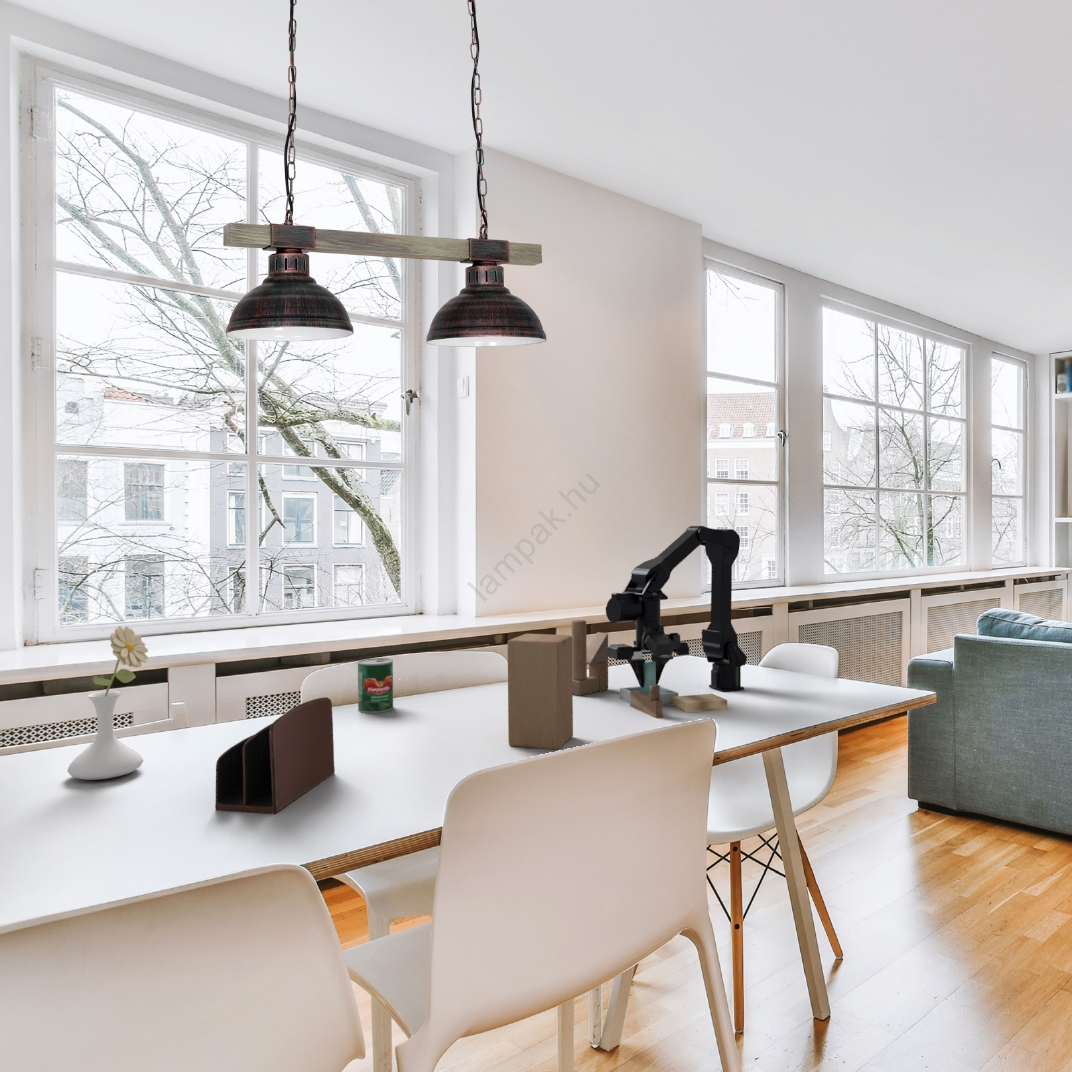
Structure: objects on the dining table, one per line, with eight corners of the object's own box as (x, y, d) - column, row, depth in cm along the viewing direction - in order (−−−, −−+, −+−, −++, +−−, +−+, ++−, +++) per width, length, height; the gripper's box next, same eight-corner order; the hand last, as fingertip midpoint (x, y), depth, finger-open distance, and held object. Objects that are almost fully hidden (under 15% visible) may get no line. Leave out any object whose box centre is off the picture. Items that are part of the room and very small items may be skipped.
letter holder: (335, 774, 139) (334, 691, 139) (276, 815, 119) (274, 719, 119) (281, 771, 141) (279, 689, 141) (214, 811, 121) (212, 716, 121)
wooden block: (573, 736, 161) (572, 634, 160) (558, 750, 151) (557, 642, 151) (525, 733, 164) (524, 633, 163) (507, 746, 154) (506, 640, 154)
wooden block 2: (608, 689, 205) (608, 617, 205) (579, 696, 197) (579, 621, 197) (597, 687, 208) (597, 616, 207) (568, 694, 200) (568, 620, 200)
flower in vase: (91, 790, 131) (88, 634, 131) (53, 779, 137) (50, 629, 137) (166, 768, 142) (163, 625, 142) (127, 759, 148) (125, 621, 148)
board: (712, 704, 189) (712, 693, 189) (727, 711, 183) (727, 699, 183) (672, 707, 187) (672, 696, 187) (686, 714, 180) (686, 703, 180)
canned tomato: (374, 714, 181) (373, 665, 180) (350, 710, 185) (350, 661, 185) (400, 708, 187) (400, 660, 187) (377, 703, 192) (376, 656, 192)
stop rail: (637, 705, 187) (637, 677, 187) (663, 717, 176) (663, 686, 176) (629, 706, 186) (628, 677, 186) (654, 718, 175) (654, 687, 175)
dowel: (651, 689, 193) (651, 660, 193) (658, 692, 190) (658, 662, 190) (639, 691, 192) (639, 661, 192) (646, 693, 189) (645, 663, 189)
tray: (657, 695, 198) (657, 684, 198) (678, 703, 188) (678, 692, 188) (619, 698, 194) (619, 688, 194) (639, 707, 185) (639, 696, 185)
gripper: (627, 626, 180) (628, 696, 180) (701, 621, 187) (702, 689, 187) (606, 620, 191) (606, 687, 191) (676, 616, 197) (677, 681, 197)
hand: (648, 686), depth 191 cm, fingers closed on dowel, 3 cm apart
